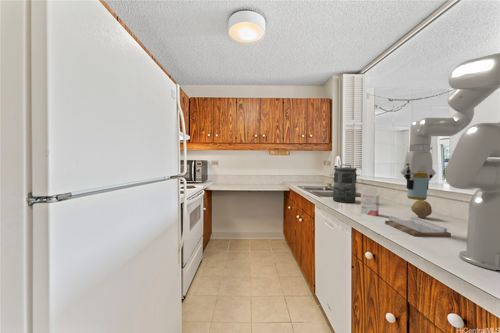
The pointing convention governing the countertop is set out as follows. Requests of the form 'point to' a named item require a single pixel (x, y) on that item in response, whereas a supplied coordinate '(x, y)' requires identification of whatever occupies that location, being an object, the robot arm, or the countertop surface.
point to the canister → (344, 184)
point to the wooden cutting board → (419, 225)
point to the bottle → (419, 185)
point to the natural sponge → (421, 208)
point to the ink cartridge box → (369, 202)
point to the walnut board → (415, 233)
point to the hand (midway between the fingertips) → (417, 188)
